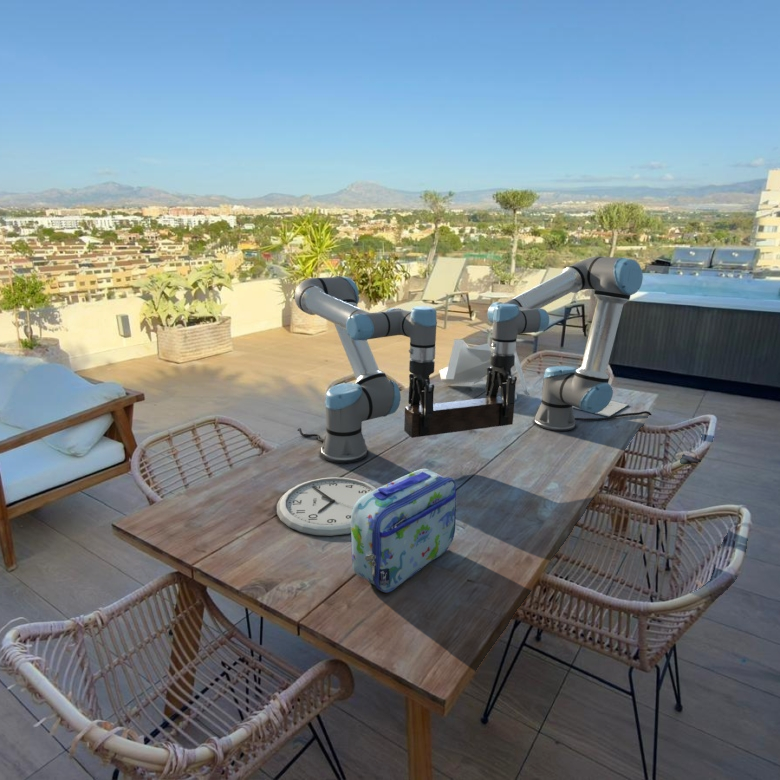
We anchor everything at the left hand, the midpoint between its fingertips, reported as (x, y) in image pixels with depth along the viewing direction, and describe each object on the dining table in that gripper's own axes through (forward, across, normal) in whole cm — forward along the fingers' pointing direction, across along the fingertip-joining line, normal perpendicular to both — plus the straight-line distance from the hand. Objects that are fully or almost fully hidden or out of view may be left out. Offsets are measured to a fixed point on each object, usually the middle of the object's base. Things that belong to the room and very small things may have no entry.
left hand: (419, 431), depth 163 cm
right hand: (0, 0, +28) cm, 28 cm away
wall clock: (+12, +15, -32) cm, 37 cm away
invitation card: (+12, -30, +99) cm, 104 cm away
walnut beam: (0, 0, +14) cm, 14 cm away
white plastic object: (+13, -64, +58) cm, 88 cm away
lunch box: (+12, +46, -23) cm, 53 cm away
